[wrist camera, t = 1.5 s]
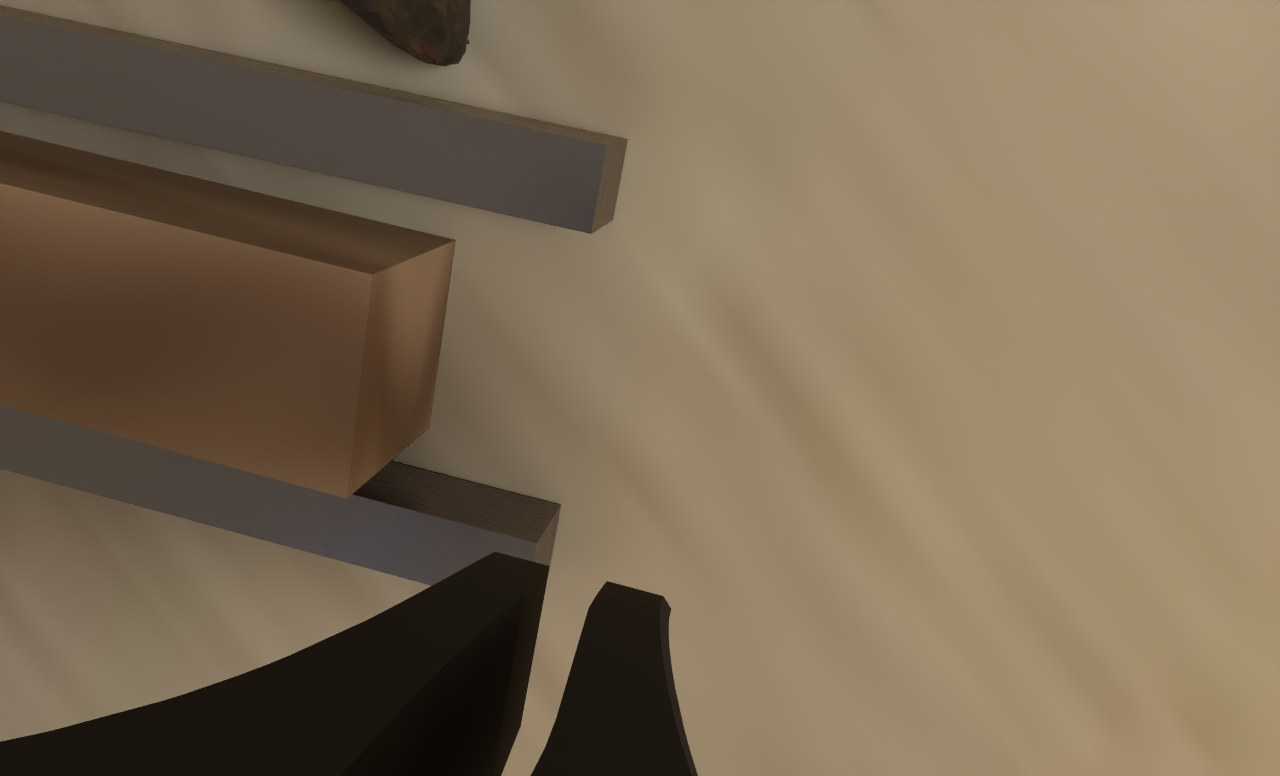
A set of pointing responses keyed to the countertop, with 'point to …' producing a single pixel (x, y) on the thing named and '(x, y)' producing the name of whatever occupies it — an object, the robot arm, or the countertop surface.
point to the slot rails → (335, 145)
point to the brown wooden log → (420, 26)
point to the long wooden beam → (215, 317)
